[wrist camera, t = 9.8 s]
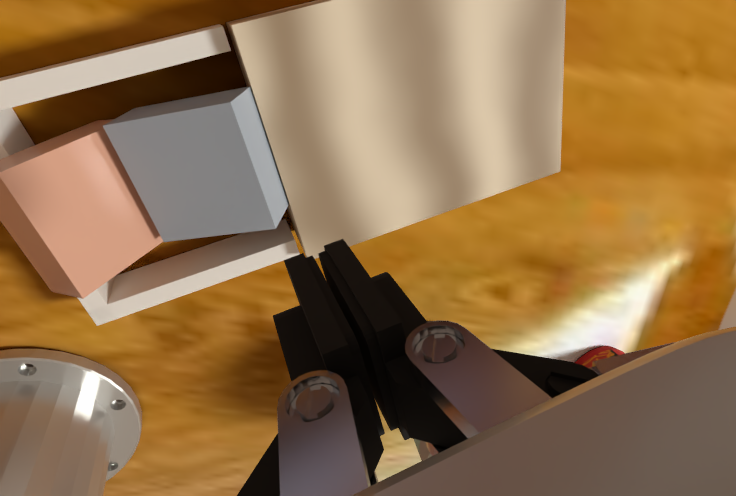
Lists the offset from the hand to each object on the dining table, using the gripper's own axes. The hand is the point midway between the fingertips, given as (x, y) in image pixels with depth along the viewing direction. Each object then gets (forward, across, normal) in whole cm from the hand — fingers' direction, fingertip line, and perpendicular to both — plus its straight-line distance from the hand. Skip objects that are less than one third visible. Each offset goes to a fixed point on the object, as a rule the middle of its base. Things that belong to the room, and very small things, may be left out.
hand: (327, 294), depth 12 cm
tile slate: (+13, +2, -1) cm, 13 cm away
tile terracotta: (+12, +7, -1) cm, 14 cm away
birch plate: (+15, -9, 0) cm, 18 cm away
